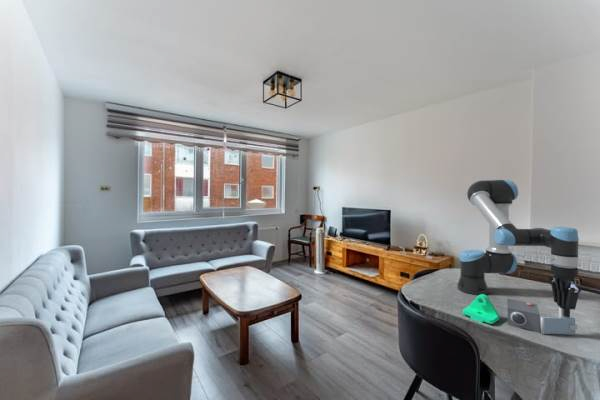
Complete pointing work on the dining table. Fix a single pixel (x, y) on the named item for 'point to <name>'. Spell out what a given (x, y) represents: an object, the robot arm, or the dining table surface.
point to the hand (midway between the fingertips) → (564, 323)
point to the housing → (523, 315)
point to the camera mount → (482, 310)
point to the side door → (557, 325)
